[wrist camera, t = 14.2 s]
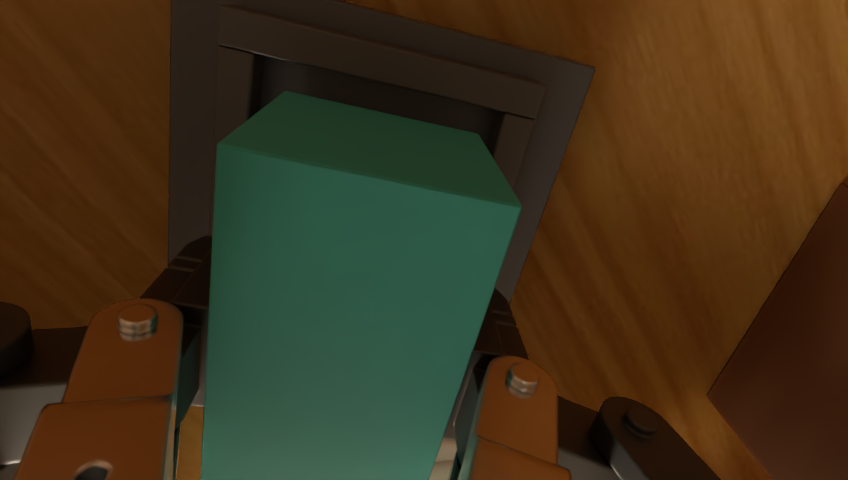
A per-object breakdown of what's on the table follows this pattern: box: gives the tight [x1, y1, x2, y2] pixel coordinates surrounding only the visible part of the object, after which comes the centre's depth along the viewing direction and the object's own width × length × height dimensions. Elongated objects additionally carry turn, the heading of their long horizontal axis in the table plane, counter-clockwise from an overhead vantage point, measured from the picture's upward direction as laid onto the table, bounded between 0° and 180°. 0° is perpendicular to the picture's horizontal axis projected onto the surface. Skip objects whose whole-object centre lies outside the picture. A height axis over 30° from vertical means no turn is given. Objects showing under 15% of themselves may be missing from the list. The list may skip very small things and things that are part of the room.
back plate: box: [168, 0, 595, 304], centre depth 14 cm, size 12×10×2 cm
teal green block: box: [200, 91, 522, 480], centre depth 11 cm, size 8×4×4 cm, turn 167°
